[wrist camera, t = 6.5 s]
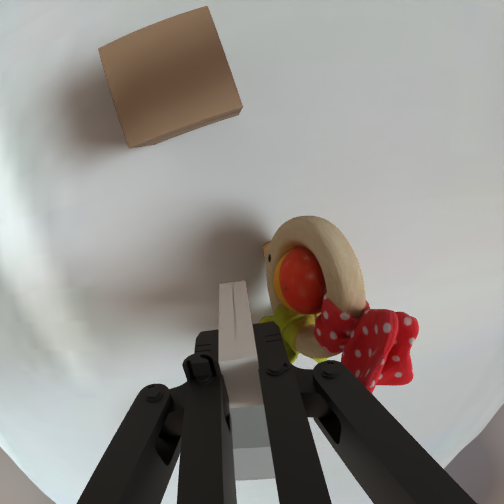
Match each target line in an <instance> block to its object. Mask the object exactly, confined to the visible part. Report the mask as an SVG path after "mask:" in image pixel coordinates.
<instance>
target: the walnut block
mask: <svg viewBox="0 0 504 504" xmlns="http://www.w3.org/2000/svg"><path fill="white" fill-rule="evenodd" d="M98 50H99V54H100V57H101V61H102V65H103V68H104V72H105V75H106V78H107V82H108V85H109V89H110V92H111V95H112V98H113V102H114V105H115V108H116V111H117V114H118V117H119V120H120V123H121V126H122V129H123V132H124V135H125V138H126V141H127V144H128V147H129V148H135V147H142V146H149V145H155V144H157V143H160V142H162V141H165V140H168V139H170V138H173V137H175V136H178V135H181V134H183V133H186V132H189V131H192V130H194V129H197V128H200V127H203V126H206V125H209V124H212V123H215V122H218V121H221V120H224V119H227V118H230V117H233V116H237V115H239V113H240V111H241V109H242V108H243V106H242V103H241V100H240V97H239V94H238V91H237V88H236V85H235V82H234V79H233V76H232V73H231V70H230V67H229V65H228V62H227V59H226V56H225V53H224V50H223V47H222V45H221V42H220V39H219V36H218V33H217V31H216V28H215V25H214V22H213V20H212V17H211V14H210V11H209V9H208V6H205V7H201V8H198V9H195V10H192V11H189V12H185V13H182V14H179V15H177V16H174V17H171V18H168V19H165V20H163V21H160V22H157V23H155V24H152V25H150V26H147V27H145V28H142V29H140V30H137V31H135V32H133V33H131V34H128V35H126V36H124V37H122V38H119V39H117V40H115V41H113V42H111V43H109V44H107V45H105V46H103V47H101V48H99V49H98Z"/></svg>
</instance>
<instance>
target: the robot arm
mask: <svg viewBox="0 0 504 504" xmlns="http://www.w3.org/2000/svg"><path fill="white" fill-rule="evenodd" d="M182 366H183V369H184V372H185V375H186V378H187V382H186V383H184V384H183V385H181V386H178V387H175V388H172V389H168V387H166V386H165V385H162V384H151V385H148V386H146V387H144V388H143V389H142V390H141V391H140V392H139V394H138V395H137V397H136V399H135V400H134V402H133V404H132V406H131V407H130V409H129V411H128V413H127V414H126V416H125V418H124V420H123V421H122V423H121V425H120V427H119V428H118V430H117V432H116V434H115V435H114V437H113V439H112V441H111V442H110V444H109V446H108V448H107V449H106V451H105V453H104V455H103V457H102V458H101V460H100V462H99V464H98V466H97V467H96V469H95V471H94V473H93V475H92V476H91V478H90V480H89V482H88V484H87V485H86V487H85V489H84V491H83V493H82V495H81V496H80V498H79V500H78V502H77V504H161V501H162V498H163V496H164V493H165V491H166V488H167V486H168V483H169V480H170V478H171V475H172V473H173V470H174V467H175V465H176V462H177V460H178V457H179V454H180V465H179V479H178V494H177V504H237V499H236V485H235V470H234V455H233V438H232V419H231V415H230V411H229V405H230V408H239V407H248V406H255V405H262V404H264V409H265V416H266V422H267V428H268V435H269V441H270V447H271V454H272V460H273V466H274V472H275V478H276V484H277V490H278V496H279V502H280V504H332V503H331V500H330V496H329V493H328V489H327V485H326V482H325V478H324V475H323V471H322V468H321V464H320V460H319V457H318V453H317V450H316V446H315V443H314V439H313V436H312V432H311V429H310V425H309V422H308V418H307V417H313V418H314V421H315V422H316V423H317V425H318V426H319V428H320V429H321V431H322V432H323V434H324V435H325V436H326V438H327V439H328V441H329V442H330V444H331V445H332V447H333V448H334V449H335V451H336V452H337V454H338V455H339V456H340V458H341V459H342V461H343V462H344V463H345V465H346V466H347V468H348V469H349V470H350V472H351V473H352V475H353V476H354V477H355V479H356V480H357V481H358V483H359V484H360V486H361V487H362V488H363V490H364V491H365V492H366V494H367V495H368V496H369V498H370V499H371V500H372V502H373V503H374V504H477V503H476V502H475V501H474V500H473V499H472V498H471V497H470V496H469V495H468V494H467V493H466V492H465V491H464V490H463V489H462V488H461V487H460V486H459V485H458V484H457V483H456V482H455V481H454V480H453V479H452V478H451V477H450V476H449V474H448V473H447V472H446V471H444V469H443V468H442V467H441V466H440V465H439V464H438V463H437V462H436V461H435V460H434V459H433V458H432V457H431V456H430V455H429V454H428V453H427V452H426V450H425V449H424V448H423V447H422V446H421V445H420V444H419V443H418V442H417V441H416V440H415V439H414V438H413V437H412V436H411V435H410V434H409V433H408V432H407V431H406V430H405V428H404V427H403V426H402V425H401V424H400V423H399V422H398V421H397V420H396V419H395V418H394V417H393V416H392V415H391V414H390V413H389V412H388V411H387V410H386V408H385V407H384V406H383V405H382V404H381V403H380V402H379V401H378V400H377V399H376V398H375V397H374V396H373V395H372V394H371V393H370V392H369V390H368V389H367V388H366V387H365V386H364V385H363V384H362V383H361V382H360V381H359V380H358V379H357V378H356V377H355V376H354V375H353V373H352V372H351V371H350V370H349V369H348V368H347V367H346V366H345V365H344V364H342V363H341V362H338V361H335V360H327V361H323V362H321V363H319V364H317V365H316V366H315V367H314V369H313V370H310V369H300V368H297V367H295V366H293V365H292V364H291V363H290V362H289V360H288V356H287V353H286V349H285V346H284V342H283V339H282V335H281V332H280V328H279V326H278V325H277V324H276V323H274V322H273V321H271V322H265V323H258V324H252V319H251V313H250V306H249V300H248V293H247V287H246V280H244V281H237V282H230V283H223V284H219V330H211V331H203V332H200V334H199V335H198V336H197V338H196V343H195V353H194V354H192V355H190V356H188V357H187V358H186V359H185V360H184V362H183V364H182Z"/></svg>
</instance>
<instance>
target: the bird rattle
mask: <svg viewBox="0 0 504 504" xmlns="http://www.w3.org/2000/svg"><path fill="white" fill-rule="evenodd" d="M263 253H264V257H265V261H266V274H267V286H268V292H269V297H270V301H271V306H272V309H273V313H274V317H271V316H266V317H264V318H263V319H262V320H261V321H260V323H265V322H271V321H273V322H274V323H276V324H277V325H278V326H279V328H280V332H281V335H282V339H283V342H284V346H285V349H286V353H287V356H288V360H289V362H290V363H291V364H292V363H293V362H294V361H295V360H296V358H297V356H298V354H299V353H301V354H303V355H305V356H307V357H310V358H312V359H314V360H315V361H317V362H318V364H319V363H321V362H323V361H326V360H327V358H328V357H332V356H335V355H337V354H339V353H341V352H343V353H342V357H341V363H342V364H344V365H345V366H346V367H347V368H348V369H349V370H350V371H351V372H352V373H353V375H354V376H355V377H356V378H357V379H358V380H359V381H360V382H361V383H362V384H363V385H364V386H365V387H366V388H367V389H368V390H369V392H370V393H371V394H372V392H373V390H374V388H375V386H376V385H405V384H408V383H409V382H411V381H412V379H413V368H412V363H411V358H410V348H411V346H412V344H413V342H414V341H415V339H416V337H417V335H418V331H419V325H418V322H417V319H416V318H414V317H412V316H409V315H408V314H406V313H404V312H394V311H391V310H387V309H370V307H369V303H368V302H367V301H366V299H365V287H364V281H363V276H362V272H361V268H360V265H359V263H358V260H357V257H356V255H355V253H354V251H353V249H352V247H351V245H350V244H349V242H348V241H347V239H346V238H345V236H344V235H343V234H342V232H341V231H340V230H339V229H338V228H337V227H336V226H335V225H333V224H332V223H331V222H329V221H327V220H325V219H323V218H320V217H316V216H300V217H296V218H292V219H290V220H289V221H287V222H285V223H284V224H283V225H282V226H281V227H280V228H279V229H278V230H277V232H276V233H275V235H274V237H273V239H272V241H270V242H268V243H266V244H265V245H264V246H263Z"/></svg>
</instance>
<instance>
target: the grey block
mask: <svg viewBox="0 0 504 504" xmlns="http://www.w3.org/2000/svg"><path fill="white" fill-rule="evenodd" d="M229 411H230V415H231V419H232V438H233V455H234V470H235V480H257V479H271V478H275V472H274V466H273V460H272V454H271V447H270V441H269V435H268V428H267V422H266V416H265V409H264V404H262V405H255V406H248V407H239V408H230V405H229Z"/></svg>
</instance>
